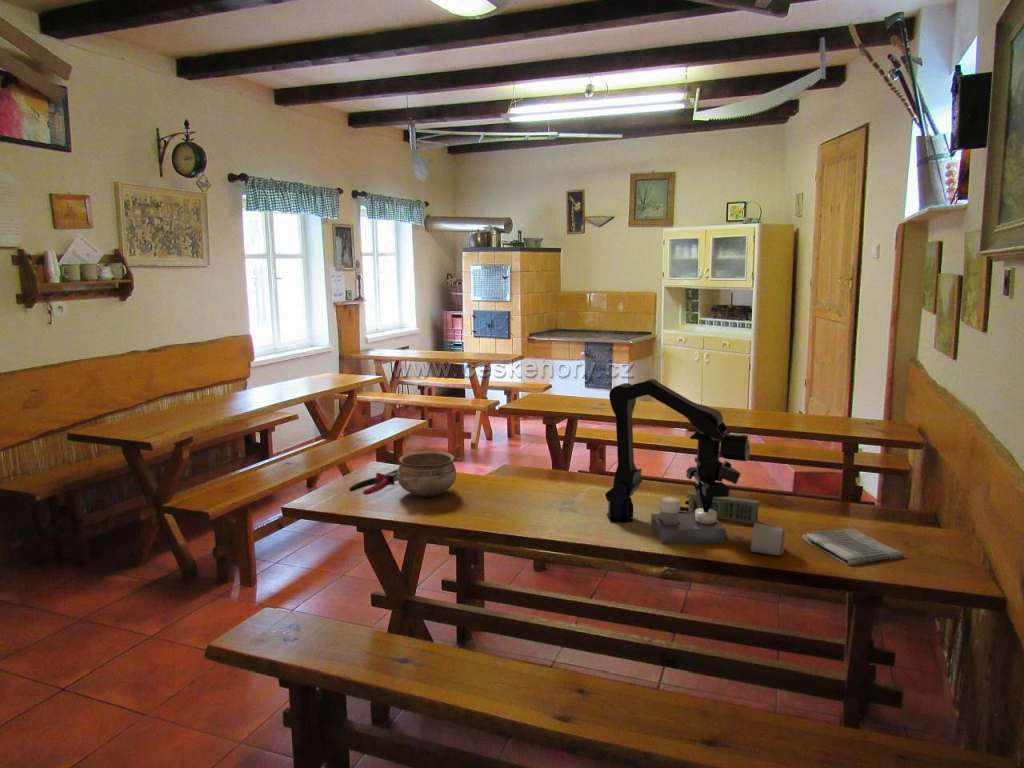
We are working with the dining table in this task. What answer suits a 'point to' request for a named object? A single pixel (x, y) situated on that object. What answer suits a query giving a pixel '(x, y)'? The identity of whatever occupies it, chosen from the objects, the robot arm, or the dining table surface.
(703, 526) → the mount
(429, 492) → the cooking pot
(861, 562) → the dish towel
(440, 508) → the dining table surface
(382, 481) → the pliers
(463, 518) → the dining table surface
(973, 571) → the dining table surface
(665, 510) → the knob
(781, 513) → the dining table surface
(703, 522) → the knob
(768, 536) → the block
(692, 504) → the handheld radio
